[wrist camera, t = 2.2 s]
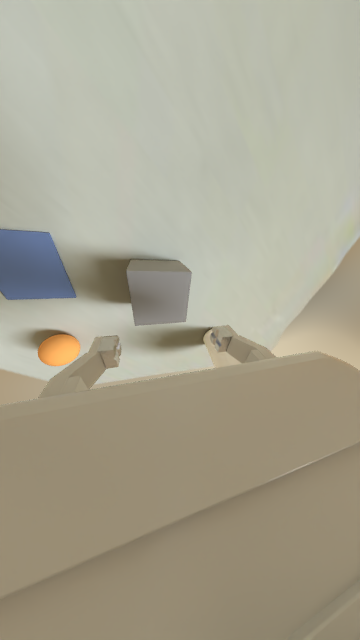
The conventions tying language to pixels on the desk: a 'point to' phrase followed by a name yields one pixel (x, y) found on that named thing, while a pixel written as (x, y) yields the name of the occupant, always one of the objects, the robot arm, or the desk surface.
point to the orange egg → (59, 350)
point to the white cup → (218, 354)
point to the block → (158, 291)
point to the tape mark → (31, 267)
